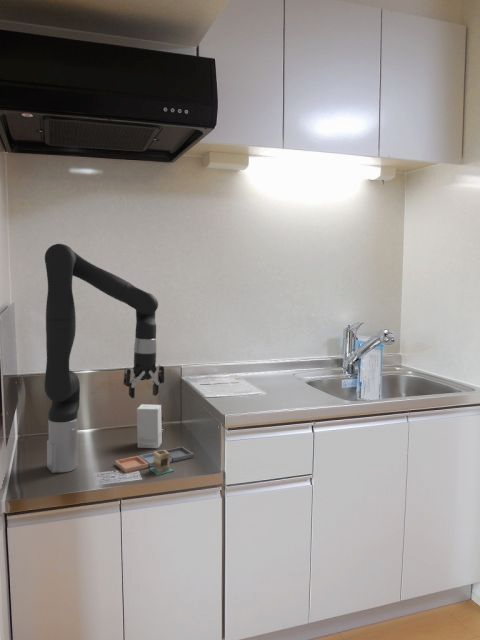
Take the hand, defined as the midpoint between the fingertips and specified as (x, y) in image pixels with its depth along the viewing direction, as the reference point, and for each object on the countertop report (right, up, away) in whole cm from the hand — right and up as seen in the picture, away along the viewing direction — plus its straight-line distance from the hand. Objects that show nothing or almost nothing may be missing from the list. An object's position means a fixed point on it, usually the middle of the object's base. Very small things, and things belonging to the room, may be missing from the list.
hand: (143, 396), depth 182 cm
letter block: (+7, -24, -5) cm, 26 cm away
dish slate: (+4, -24, +3) cm, 24 cm away
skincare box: (-1, -22, +18) cm, 28 cm away
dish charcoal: (+11, -23, +8) cm, 27 cm away
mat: (+7, -25, -5) cm, 26 cm away
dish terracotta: (-4, -24, -2) cm, 24 cm away
